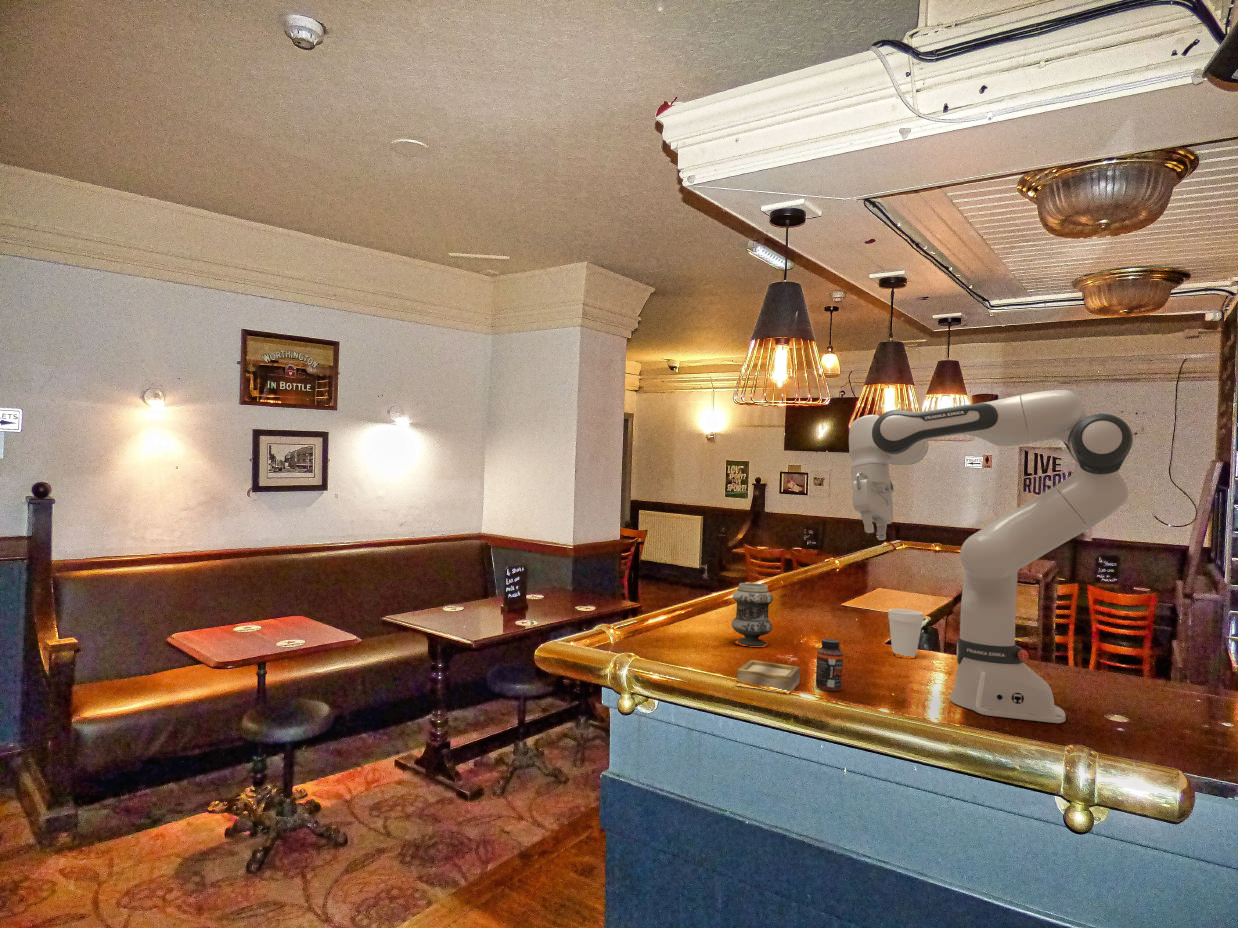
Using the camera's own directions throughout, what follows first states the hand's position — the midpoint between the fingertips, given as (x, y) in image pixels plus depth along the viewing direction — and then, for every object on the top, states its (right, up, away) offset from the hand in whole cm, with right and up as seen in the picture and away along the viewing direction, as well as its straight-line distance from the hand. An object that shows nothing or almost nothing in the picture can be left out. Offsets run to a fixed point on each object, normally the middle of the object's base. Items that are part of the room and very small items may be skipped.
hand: (875, 536), depth 174 cm
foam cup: (+22, -39, +38) cm, 59 cm away
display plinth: (-26, -35, -2) cm, 44 cm away
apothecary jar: (-22, -37, +45) cm, 62 cm away
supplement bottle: (-12, -36, -3) cm, 38 cm away
